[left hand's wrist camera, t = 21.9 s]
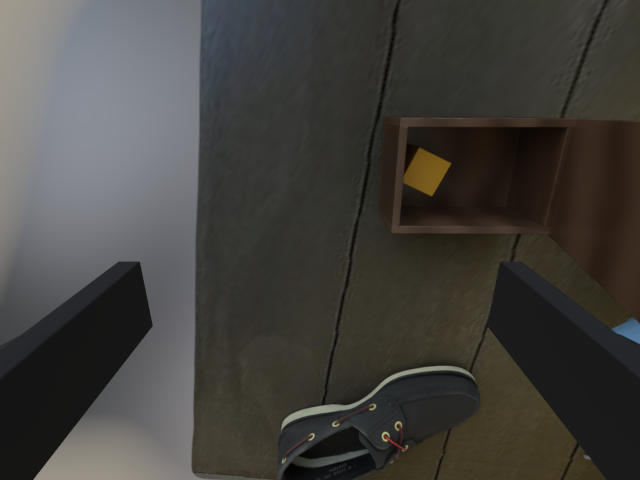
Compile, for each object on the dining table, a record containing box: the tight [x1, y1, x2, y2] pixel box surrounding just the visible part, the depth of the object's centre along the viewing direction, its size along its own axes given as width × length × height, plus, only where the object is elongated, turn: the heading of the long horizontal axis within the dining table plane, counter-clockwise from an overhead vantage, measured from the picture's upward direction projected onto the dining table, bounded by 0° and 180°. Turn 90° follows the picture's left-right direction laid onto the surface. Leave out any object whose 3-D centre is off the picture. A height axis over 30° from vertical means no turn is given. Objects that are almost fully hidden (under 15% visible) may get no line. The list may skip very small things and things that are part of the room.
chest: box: [378, 117, 577, 234], centre depth 39 cm, size 17×12×9 cm
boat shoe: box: [278, 366, 480, 480], centre depth 52 cm, size 13×33×10 cm, turn 106°
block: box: [403, 144, 451, 196], centre depth 40 cm, size 4×4×4 cm
